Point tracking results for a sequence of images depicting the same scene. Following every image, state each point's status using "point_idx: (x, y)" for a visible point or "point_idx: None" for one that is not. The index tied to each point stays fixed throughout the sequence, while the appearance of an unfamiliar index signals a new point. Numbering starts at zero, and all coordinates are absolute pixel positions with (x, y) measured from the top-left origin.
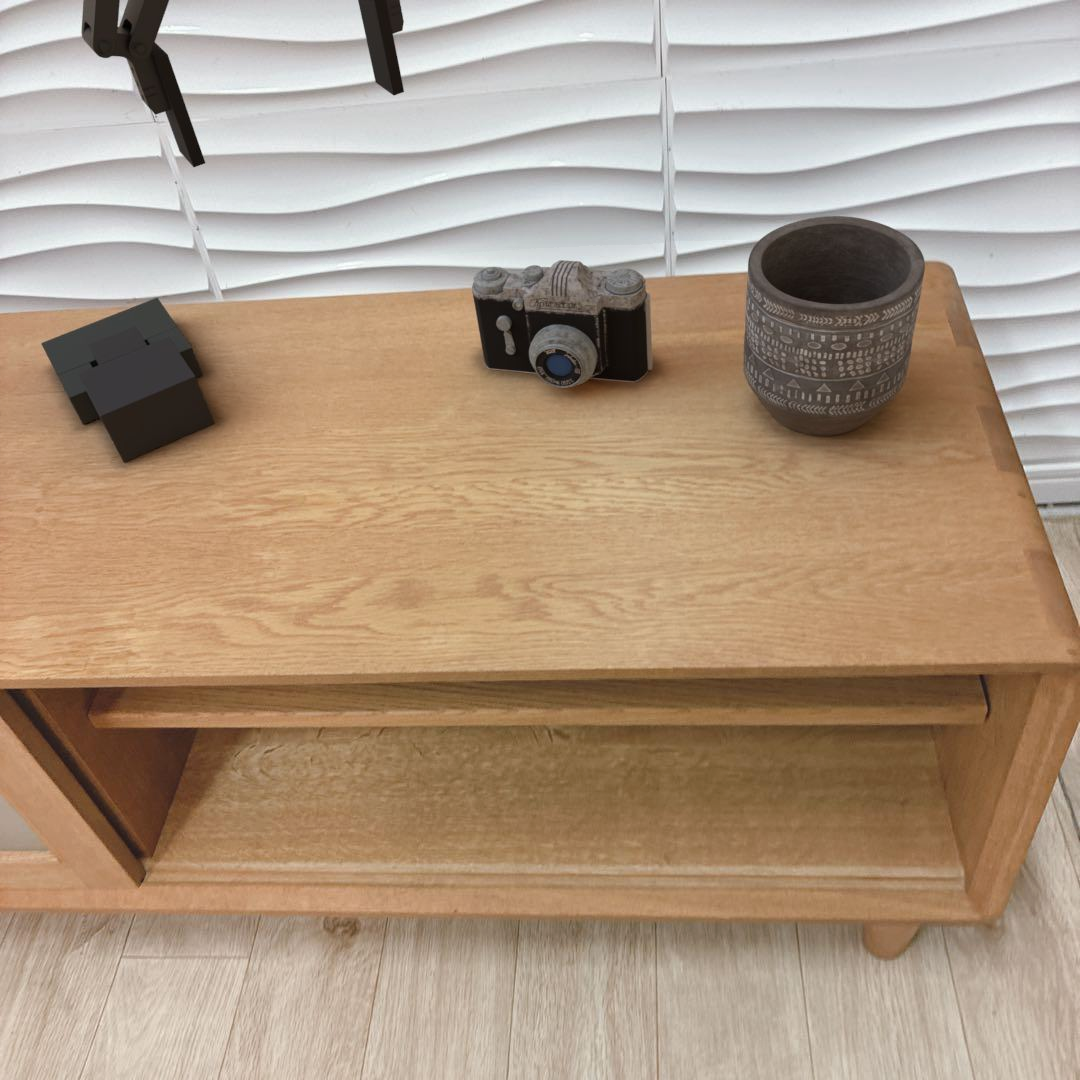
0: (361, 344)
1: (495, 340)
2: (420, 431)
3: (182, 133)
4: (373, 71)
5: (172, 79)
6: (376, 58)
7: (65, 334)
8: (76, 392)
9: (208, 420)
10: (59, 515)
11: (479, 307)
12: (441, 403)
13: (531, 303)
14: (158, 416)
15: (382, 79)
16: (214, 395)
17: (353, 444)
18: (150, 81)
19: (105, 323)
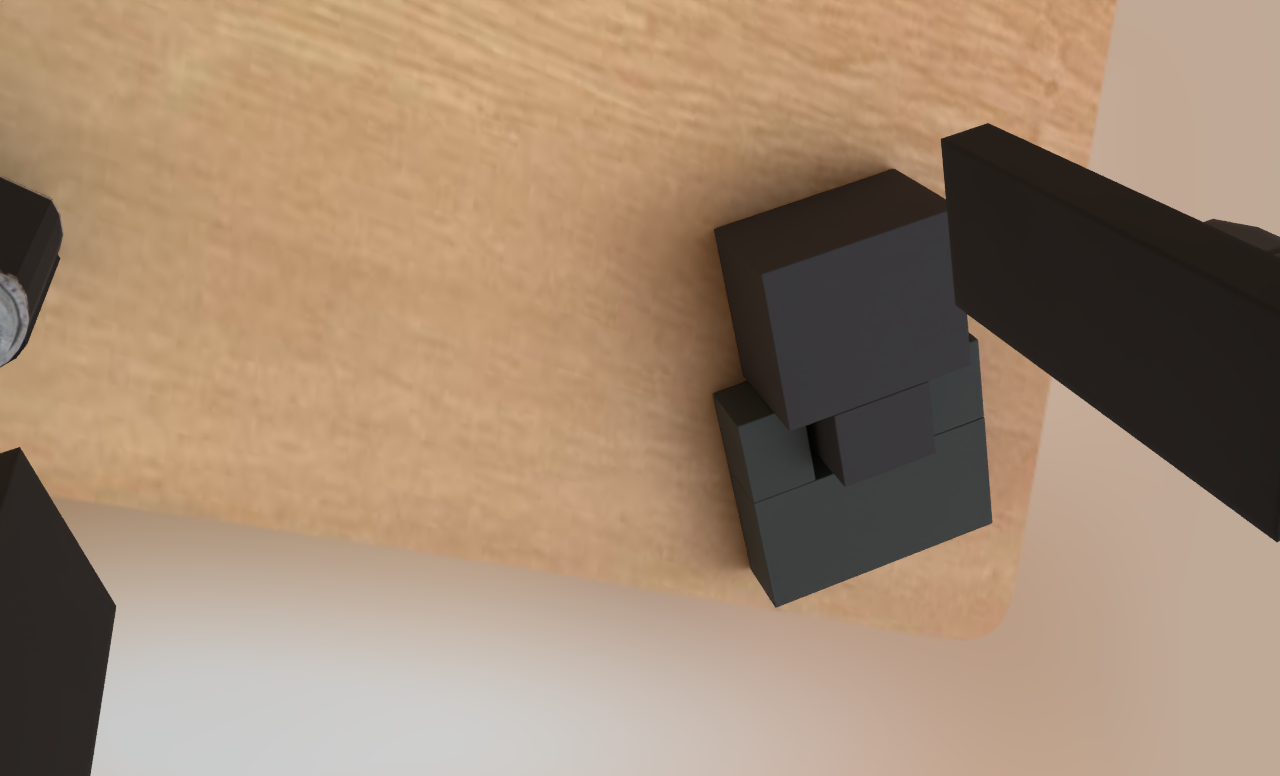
0: (370, 395)
1: (5, 216)
2: (265, 23)
3: (1076, 165)
4: (110, 639)
5: (1211, 266)
6: (62, 636)
7: (949, 537)
8: None
9: (727, 229)
10: (1024, 56)
11: (19, 266)
12: (198, 111)
13: None
14: (834, 221)
15: (64, 556)
16: (700, 320)
17: (434, 40)
18: None
19: (878, 550)
